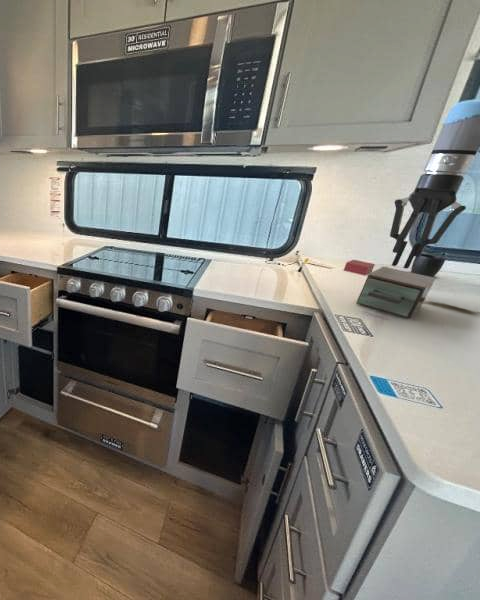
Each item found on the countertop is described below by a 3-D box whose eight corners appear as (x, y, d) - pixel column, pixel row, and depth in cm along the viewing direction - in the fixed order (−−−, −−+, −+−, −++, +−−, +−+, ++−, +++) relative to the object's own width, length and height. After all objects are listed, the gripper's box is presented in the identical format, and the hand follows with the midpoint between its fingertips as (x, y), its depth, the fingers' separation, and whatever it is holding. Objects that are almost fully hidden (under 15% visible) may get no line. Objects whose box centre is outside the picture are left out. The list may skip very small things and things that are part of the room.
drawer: (402, 321, 89) (416, 294, 86) (352, 306, 97) (362, 281, 94) (417, 305, 101) (430, 281, 98) (371, 293, 109) (381, 270, 106)
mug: (435, 278, 133) (447, 256, 130) (433, 284, 126) (445, 260, 122) (408, 273, 139) (419, 251, 135) (404, 278, 131) (415, 255, 128)
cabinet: (409, 319, 93) (425, 287, 89) (356, 303, 102) (368, 274, 98) (420, 306, 103) (435, 277, 99) (370, 293, 112) (382, 266, 108)
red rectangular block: (369, 276, 131) (374, 264, 129) (363, 279, 126) (368, 267, 124) (348, 271, 136) (353, 259, 134) (341, 274, 131) (346, 262, 129)
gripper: (400, 171, 83) (362, 260, 92) (487, 175, 73) (435, 276, 82) (406, 172, 87) (370, 257, 97) (489, 176, 77) (440, 272, 86)
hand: (400, 266), depth 89 cm, fingers closed
